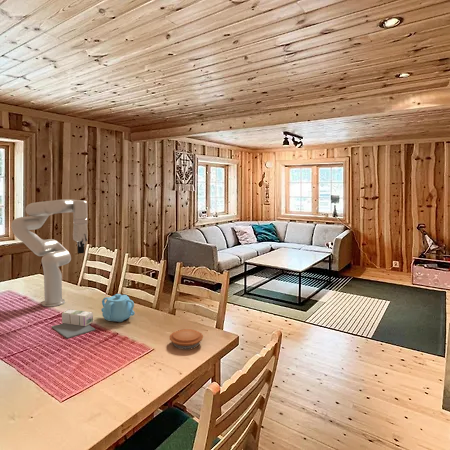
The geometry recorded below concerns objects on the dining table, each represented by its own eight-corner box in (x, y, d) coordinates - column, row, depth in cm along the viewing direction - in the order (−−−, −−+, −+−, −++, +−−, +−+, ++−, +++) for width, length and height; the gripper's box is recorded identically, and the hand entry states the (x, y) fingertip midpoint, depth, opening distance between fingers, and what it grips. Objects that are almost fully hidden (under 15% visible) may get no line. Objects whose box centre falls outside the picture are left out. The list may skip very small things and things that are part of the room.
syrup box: (61, 323, 172) (86, 327, 169) (61, 312, 171) (85, 316, 168) (69, 319, 178) (93, 322, 174) (69, 308, 177) (93, 312, 173)
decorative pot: (136, 321, 179) (136, 297, 178) (104, 326, 172) (104, 300, 170) (130, 311, 193) (130, 288, 192) (100, 315, 186) (100, 291, 185)
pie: (209, 346, 153) (209, 336, 153) (179, 355, 144) (179, 344, 144) (192, 334, 166) (192, 324, 165) (163, 341, 157) (163, 331, 156)
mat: (51, 327, 168) (51, 326, 168) (79, 320, 178) (79, 319, 178) (67, 338, 156) (67, 337, 156) (95, 330, 167) (95, 328, 167)
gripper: (68, 220, 195) (69, 251, 197) (79, 223, 184) (79, 255, 186) (81, 220, 200) (81, 250, 202) (92, 222, 190) (92, 254, 192)
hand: (80, 253), depth 194 cm, fingers closed
